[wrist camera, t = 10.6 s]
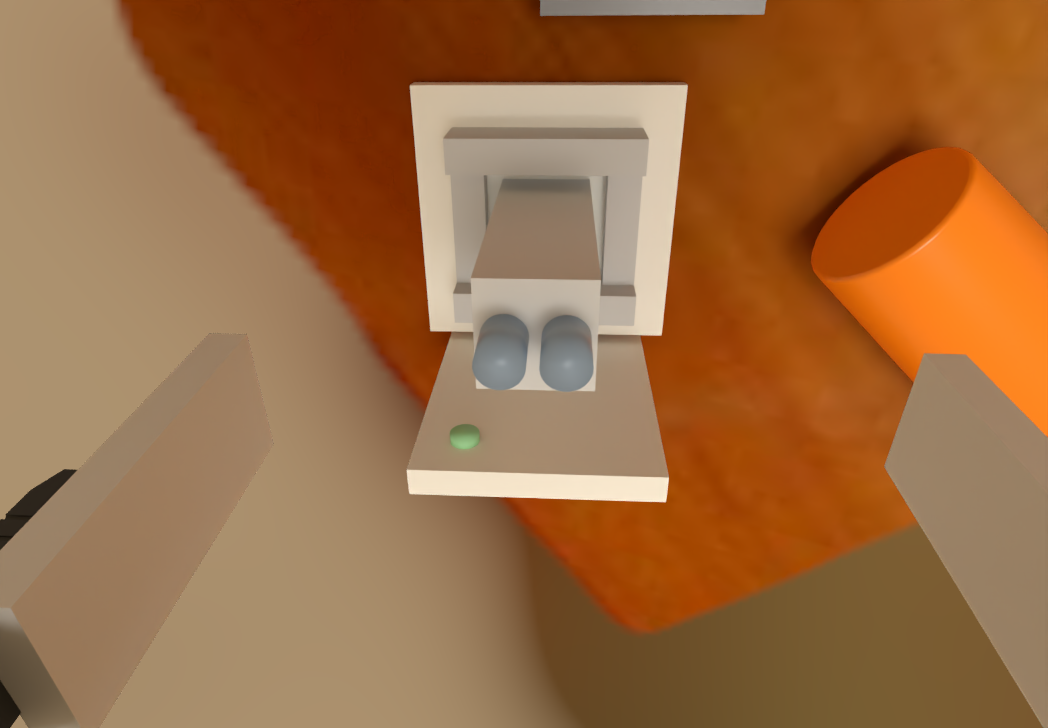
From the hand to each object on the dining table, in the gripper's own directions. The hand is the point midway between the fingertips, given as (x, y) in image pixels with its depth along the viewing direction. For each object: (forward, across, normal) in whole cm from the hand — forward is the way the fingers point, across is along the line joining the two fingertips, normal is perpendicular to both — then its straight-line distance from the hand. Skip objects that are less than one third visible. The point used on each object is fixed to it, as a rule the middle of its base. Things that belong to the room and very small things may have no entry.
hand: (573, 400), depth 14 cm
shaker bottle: (+16, +13, -1) cm, 21 cm away
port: (+21, -1, -3) cm, 21 cm away
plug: (+20, -1, -3) cm, 20 cm away
